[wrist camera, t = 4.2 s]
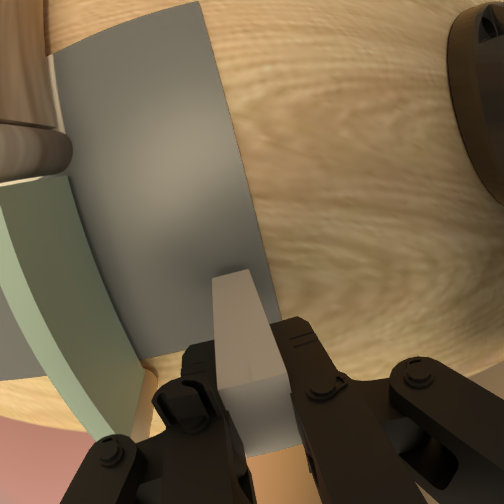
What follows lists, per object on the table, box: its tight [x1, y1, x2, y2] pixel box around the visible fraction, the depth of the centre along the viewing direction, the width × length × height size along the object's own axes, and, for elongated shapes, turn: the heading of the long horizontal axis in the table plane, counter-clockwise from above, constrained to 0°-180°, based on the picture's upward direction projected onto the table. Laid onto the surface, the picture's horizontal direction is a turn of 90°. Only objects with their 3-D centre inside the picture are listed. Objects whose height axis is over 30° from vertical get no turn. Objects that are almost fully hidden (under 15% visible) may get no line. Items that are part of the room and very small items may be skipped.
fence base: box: [0, 0, 73, 183], centre depth 7 cm, size 2×13×7 cm, turn 14°
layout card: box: [0, 1, 282, 381], centre depth 12 cm, size 20×16×1 cm
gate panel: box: [0, 176, 158, 443], centre depth 10 cm, size 12×2×6 cm, turn 14°
